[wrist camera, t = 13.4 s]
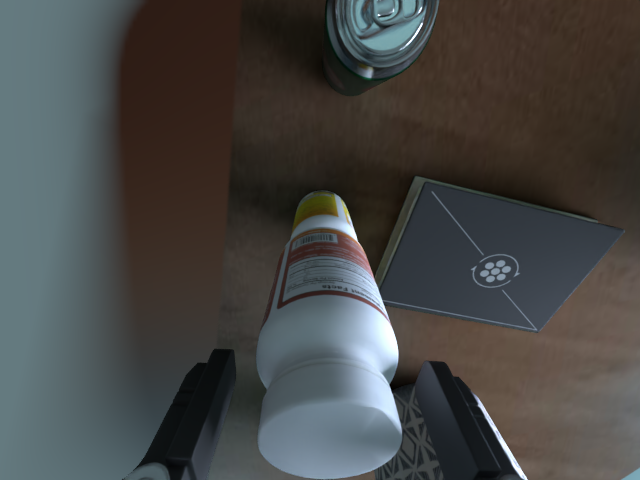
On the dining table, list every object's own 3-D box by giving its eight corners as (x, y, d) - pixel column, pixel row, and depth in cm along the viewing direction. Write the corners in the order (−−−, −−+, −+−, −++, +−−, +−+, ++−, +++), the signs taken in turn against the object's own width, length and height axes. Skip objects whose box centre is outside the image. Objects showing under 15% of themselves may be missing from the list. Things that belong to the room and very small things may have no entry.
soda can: (316, 32, 20) (314, -66, 9) (378, 16, 20) (452, -104, 9) (327, 102, 22) (336, 88, 12) (384, 89, 22) (447, 63, 11)
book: (368, 289, 32) (373, 305, 29) (413, 174, 25) (425, 181, 23) (519, 317, 34) (536, 335, 31) (596, 219, 28) (626, 230, 25)
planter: (354, 432, 46) (370, 580, 32) (377, 364, 38) (414, 521, 23) (452, 439, 48) (513, 583, 33) (497, 373, 39) (605, 529, 24)
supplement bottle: (286, 217, 27) (270, 268, 18) (318, 177, 25) (318, 212, 16) (325, 245, 29) (328, 306, 20) (358, 210, 27) (379, 259, 18)
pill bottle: (326, 310, 20) (335, 505, 10) (262, 267, 18) (194, 454, 8) (384, 258, 18) (469, 439, 8) (318, 204, 16) (319, 351, 6)
